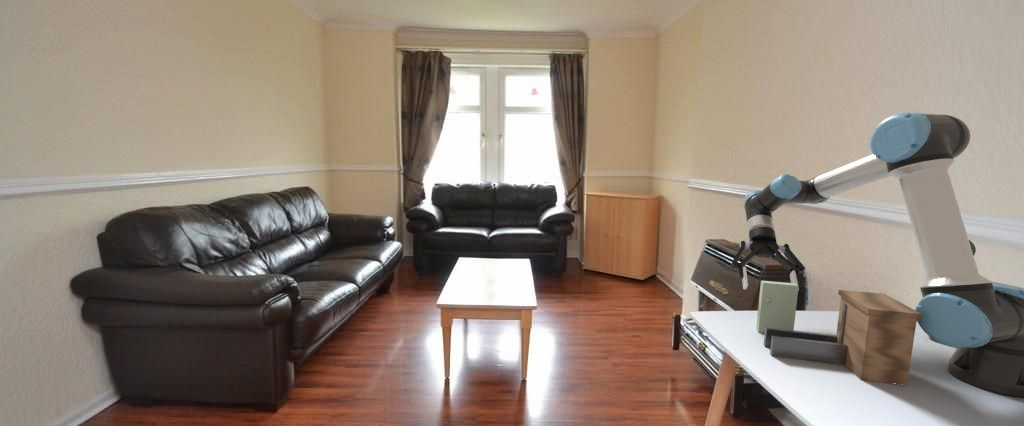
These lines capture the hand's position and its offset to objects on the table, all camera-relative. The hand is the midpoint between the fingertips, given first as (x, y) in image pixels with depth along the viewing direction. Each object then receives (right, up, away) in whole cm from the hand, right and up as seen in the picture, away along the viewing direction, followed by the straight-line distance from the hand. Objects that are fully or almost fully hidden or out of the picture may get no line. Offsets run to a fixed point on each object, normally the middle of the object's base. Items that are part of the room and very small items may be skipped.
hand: (770, 289), depth 132 cm
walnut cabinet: (+9, -15, -25) cm, 30 cm away
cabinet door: (-1, -12, -3) cm, 13 cm away
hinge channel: (-2, -14, -17) cm, 22 cm away
